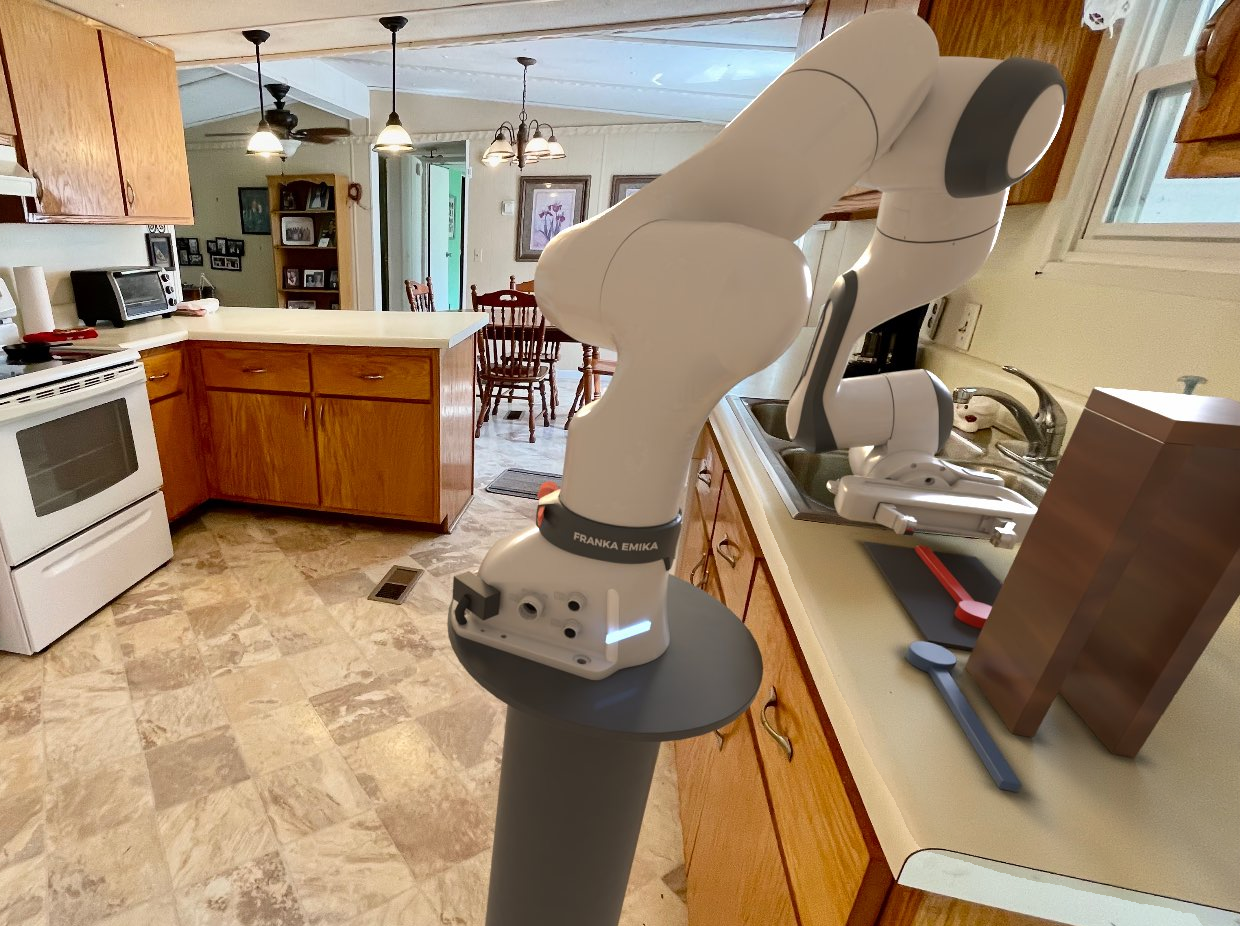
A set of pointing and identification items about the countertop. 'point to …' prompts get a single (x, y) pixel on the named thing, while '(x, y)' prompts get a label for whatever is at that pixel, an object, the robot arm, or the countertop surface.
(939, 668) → the blue spoon
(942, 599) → the charcoal mat
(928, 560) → the red spoon
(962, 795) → the countertop surface
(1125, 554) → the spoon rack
